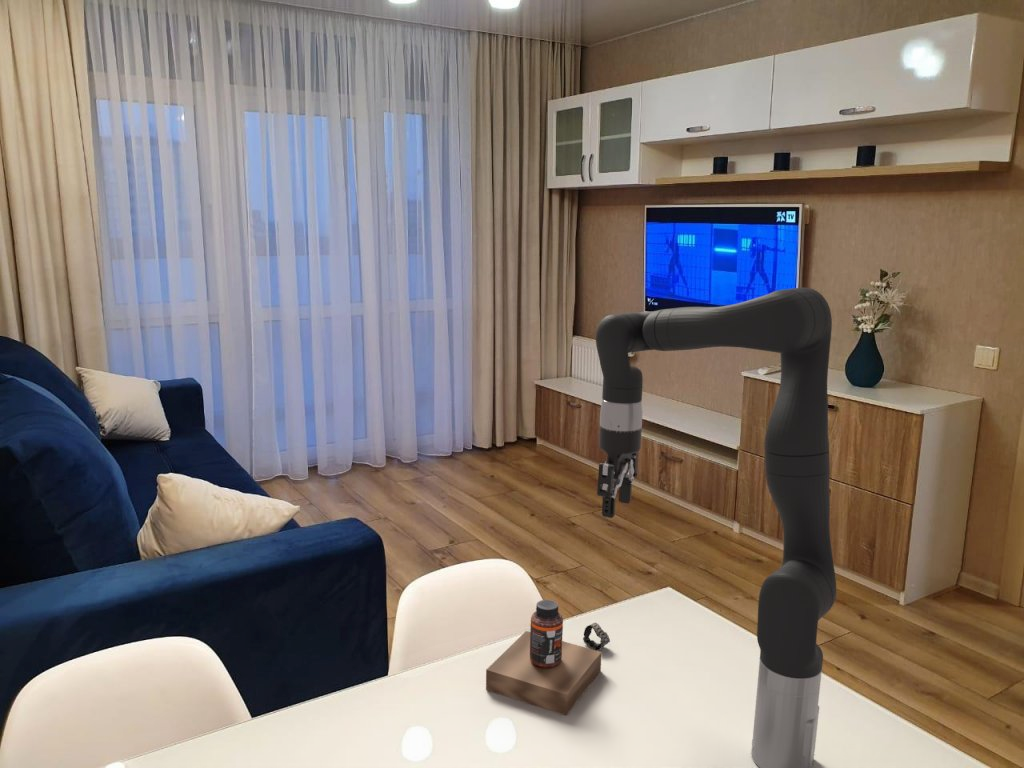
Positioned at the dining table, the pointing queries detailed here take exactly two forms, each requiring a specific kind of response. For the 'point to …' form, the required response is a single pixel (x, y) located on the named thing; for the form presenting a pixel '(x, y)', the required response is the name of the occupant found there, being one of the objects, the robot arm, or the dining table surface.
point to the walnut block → (544, 675)
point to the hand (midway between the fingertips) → (616, 509)
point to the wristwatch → (599, 633)
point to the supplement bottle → (546, 635)
